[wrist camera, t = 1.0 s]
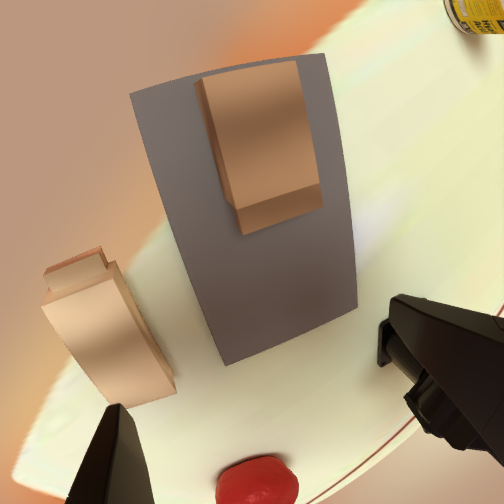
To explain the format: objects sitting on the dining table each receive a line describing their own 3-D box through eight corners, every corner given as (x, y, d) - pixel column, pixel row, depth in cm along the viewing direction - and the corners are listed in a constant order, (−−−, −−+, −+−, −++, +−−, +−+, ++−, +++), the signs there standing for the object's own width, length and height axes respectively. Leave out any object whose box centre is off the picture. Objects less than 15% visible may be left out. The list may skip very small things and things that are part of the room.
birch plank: (171, 370, 23) (176, 393, 21) (115, 388, 22) (116, 411, 20) (107, 243, 18) (104, 260, 16) (41, 270, 17) (31, 289, 15)
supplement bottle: (448, 30, 20) (538, 28, 11) (436, -21, 17) (522, -32, 9) (477, 38, 21) (556, 42, 12) (467, -7, 18) (543, -12, 10)
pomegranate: (202, 461, 30) (225, 531, 22) (287, 439, 33) (321, 501, 24) (213, 494, 34) (233, 550, 26) (284, 475, 37) (311, 526, 28)
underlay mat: (354, 304, 27) (357, 307, 26) (223, 362, 24) (225, 366, 24) (320, 54, 18) (324, 52, 17) (129, 94, 15) (129, 93, 15)
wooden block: (303, 196, 21) (323, 207, 18) (230, 221, 20) (243, 235, 17) (276, 66, 17) (295, 60, 15) (193, 83, 16) (202, 77, 14)
